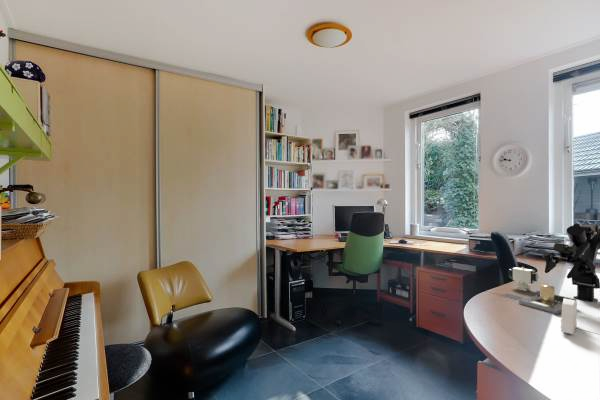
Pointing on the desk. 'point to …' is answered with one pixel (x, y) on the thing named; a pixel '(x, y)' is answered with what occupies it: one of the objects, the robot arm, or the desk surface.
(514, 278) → the pneumatic valve
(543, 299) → the brass knob
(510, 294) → the grey square plate
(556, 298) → the plate
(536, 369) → the desk surface
